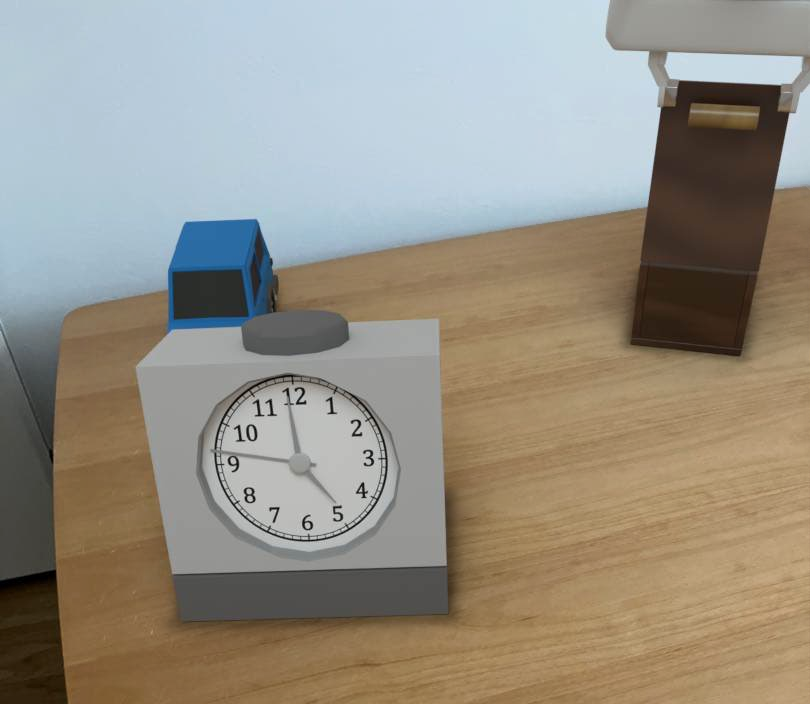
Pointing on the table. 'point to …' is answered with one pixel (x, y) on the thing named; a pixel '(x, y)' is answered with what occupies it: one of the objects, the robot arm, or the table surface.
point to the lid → (714, 175)
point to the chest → (692, 307)
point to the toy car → (220, 275)
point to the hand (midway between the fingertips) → (725, 107)
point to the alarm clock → (300, 466)
